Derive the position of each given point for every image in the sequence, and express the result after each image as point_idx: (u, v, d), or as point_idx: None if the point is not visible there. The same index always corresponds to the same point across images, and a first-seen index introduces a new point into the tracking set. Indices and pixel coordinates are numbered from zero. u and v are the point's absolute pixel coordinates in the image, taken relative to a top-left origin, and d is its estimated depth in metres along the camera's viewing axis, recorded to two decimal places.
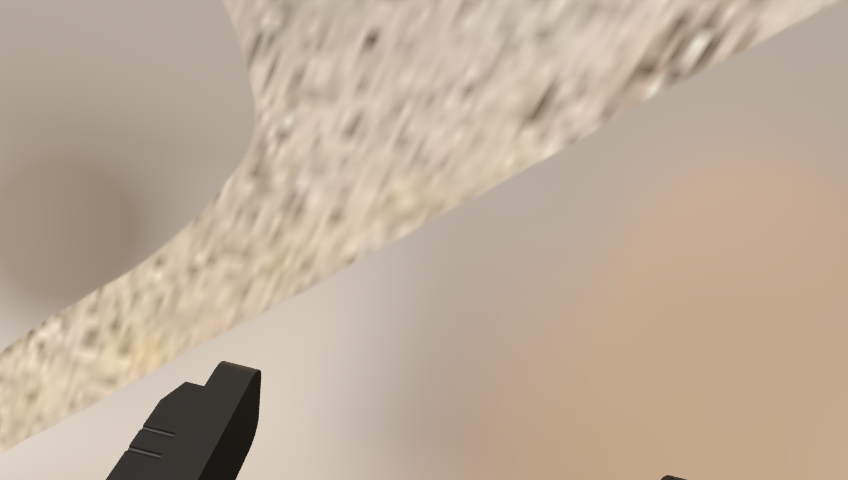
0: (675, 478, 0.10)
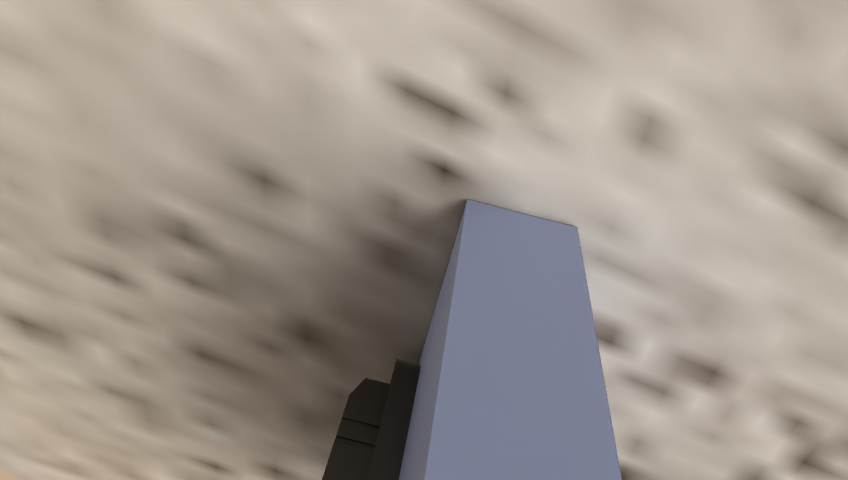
0: None
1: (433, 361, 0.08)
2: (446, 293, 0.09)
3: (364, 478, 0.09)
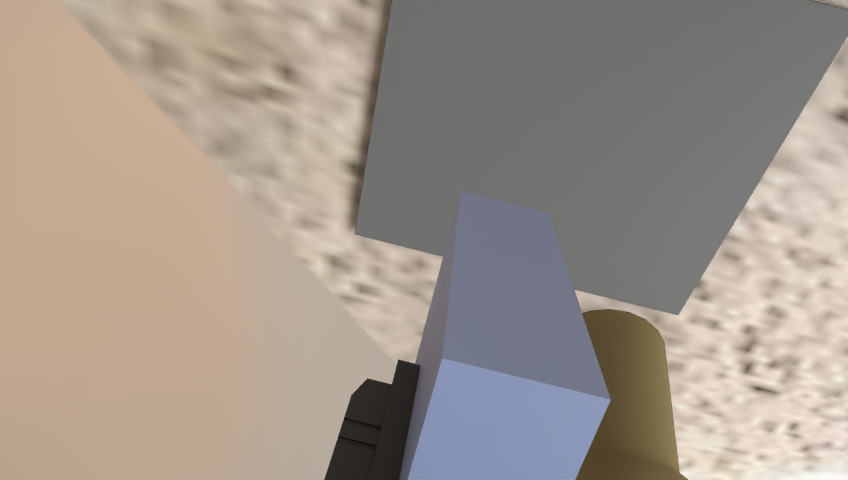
0: None
1: (441, 294, 0.10)
2: (447, 254, 0.11)
3: (366, 479, 0.09)
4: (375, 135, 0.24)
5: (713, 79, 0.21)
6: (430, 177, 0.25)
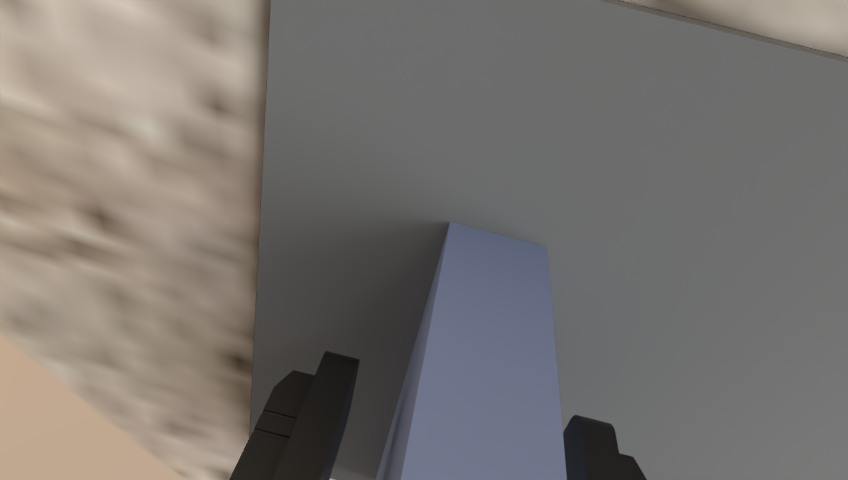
0: (580, 416, 0.11)
1: (417, 365, 0.09)
2: (430, 305, 0.10)
3: None
4: (263, 329, 0.14)
5: None
6: (364, 392, 0.14)
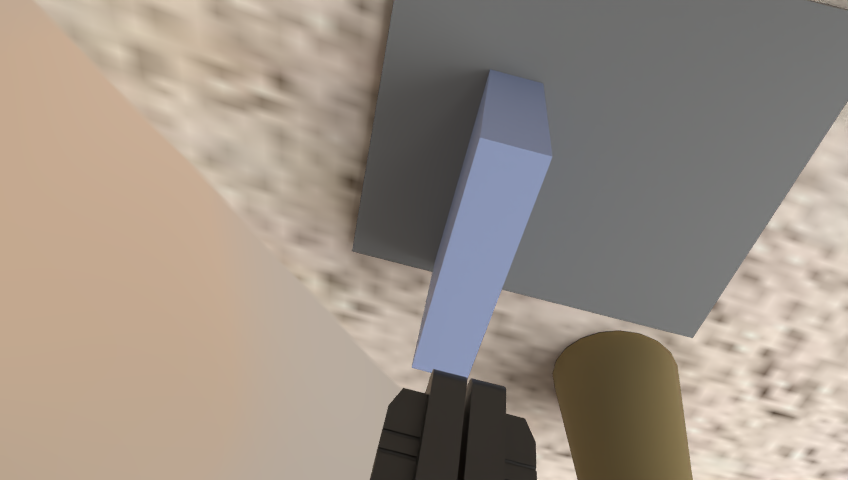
0: (474, 379, 0.11)
1: (477, 126, 0.19)
2: (481, 106, 0.20)
3: None
4: (374, 148, 0.23)
5: (736, 92, 0.20)
6: (432, 193, 0.23)
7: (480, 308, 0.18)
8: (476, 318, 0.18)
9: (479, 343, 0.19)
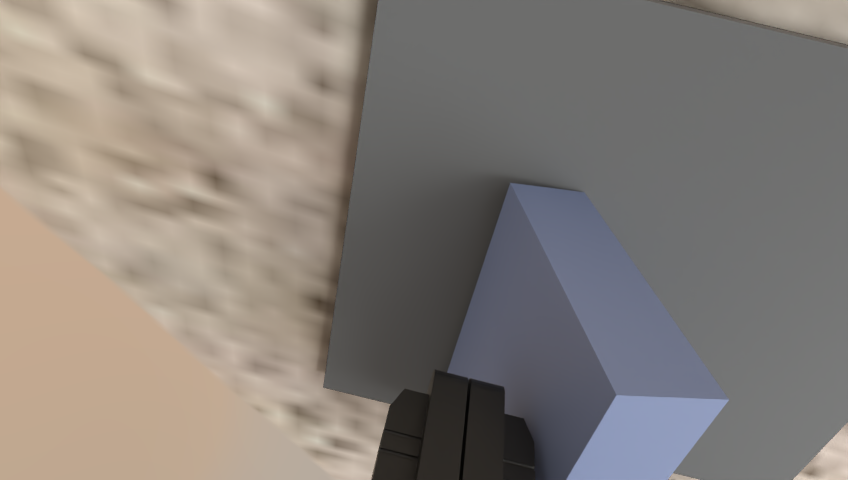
0: (472, 379, 0.11)
1: (530, 295, 0.12)
2: (517, 250, 0.13)
3: None
4: (347, 269, 0.17)
5: None
6: (428, 324, 0.17)
7: None
8: None
9: None
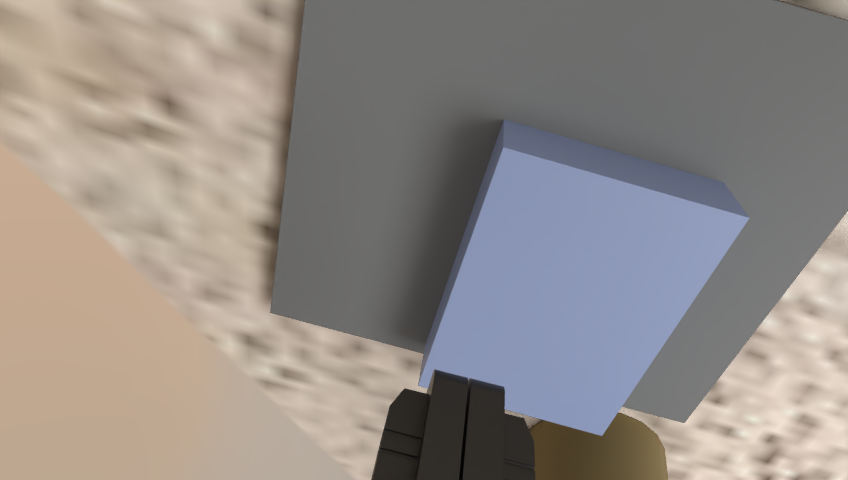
0: (472, 379, 0.11)
1: (599, 214, 0.15)
2: (553, 194, 0.15)
3: None
4: (290, 192, 0.18)
5: (750, 137, 0.15)
6: (365, 248, 0.19)
7: None
8: None
9: None
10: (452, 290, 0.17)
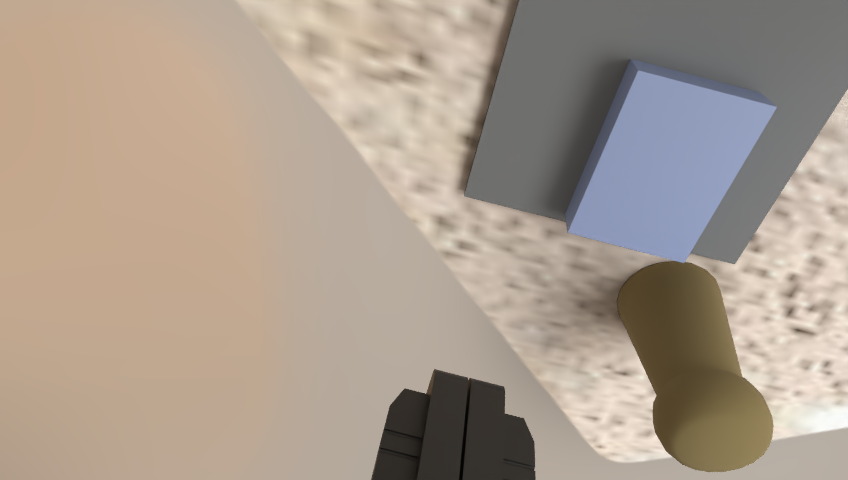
0: (472, 379, 0.11)
1: (690, 109, 0.26)
2: (664, 97, 0.26)
3: None
4: (492, 111, 0.29)
5: (776, 64, 0.26)
6: (534, 146, 0.30)
7: None
8: None
9: None
10: (597, 163, 0.28)
